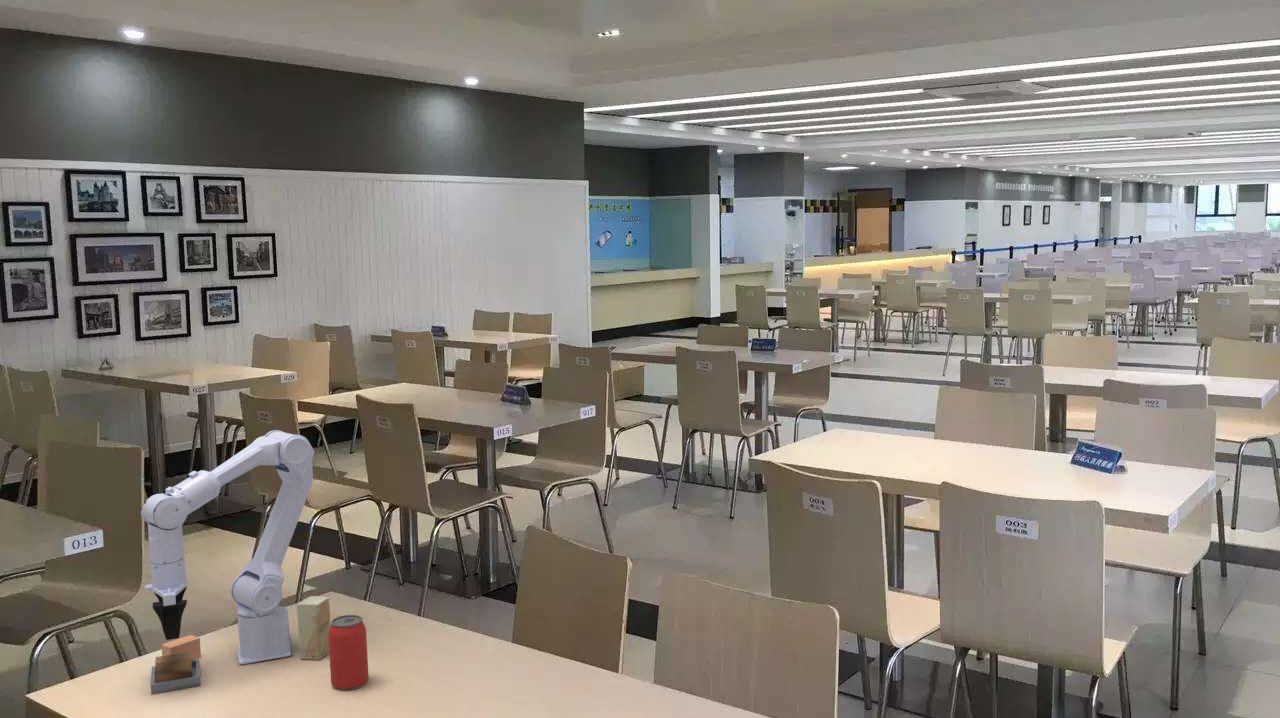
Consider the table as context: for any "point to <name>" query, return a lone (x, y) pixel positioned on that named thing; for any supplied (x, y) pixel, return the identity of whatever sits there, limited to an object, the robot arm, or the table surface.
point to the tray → (178, 683)
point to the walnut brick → (173, 667)
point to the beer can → (348, 652)
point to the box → (314, 627)
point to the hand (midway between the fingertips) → (172, 631)
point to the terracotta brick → (183, 647)
